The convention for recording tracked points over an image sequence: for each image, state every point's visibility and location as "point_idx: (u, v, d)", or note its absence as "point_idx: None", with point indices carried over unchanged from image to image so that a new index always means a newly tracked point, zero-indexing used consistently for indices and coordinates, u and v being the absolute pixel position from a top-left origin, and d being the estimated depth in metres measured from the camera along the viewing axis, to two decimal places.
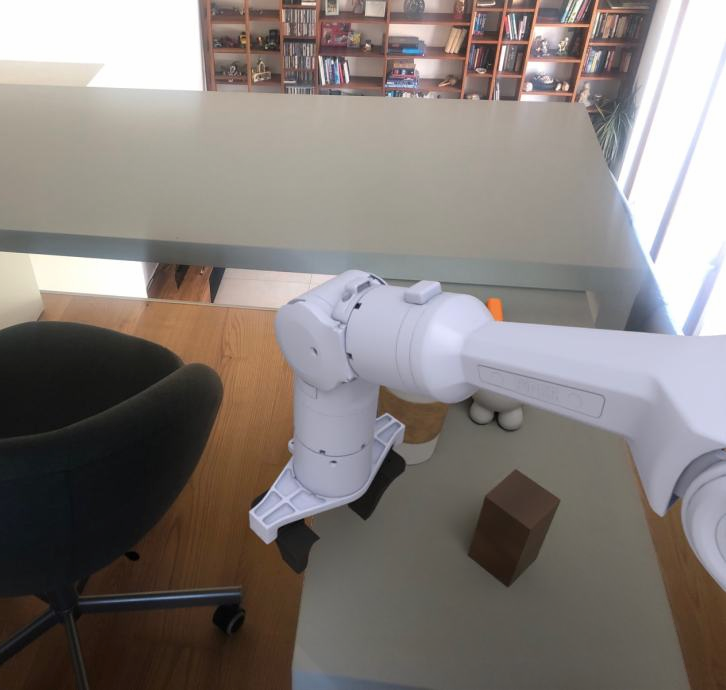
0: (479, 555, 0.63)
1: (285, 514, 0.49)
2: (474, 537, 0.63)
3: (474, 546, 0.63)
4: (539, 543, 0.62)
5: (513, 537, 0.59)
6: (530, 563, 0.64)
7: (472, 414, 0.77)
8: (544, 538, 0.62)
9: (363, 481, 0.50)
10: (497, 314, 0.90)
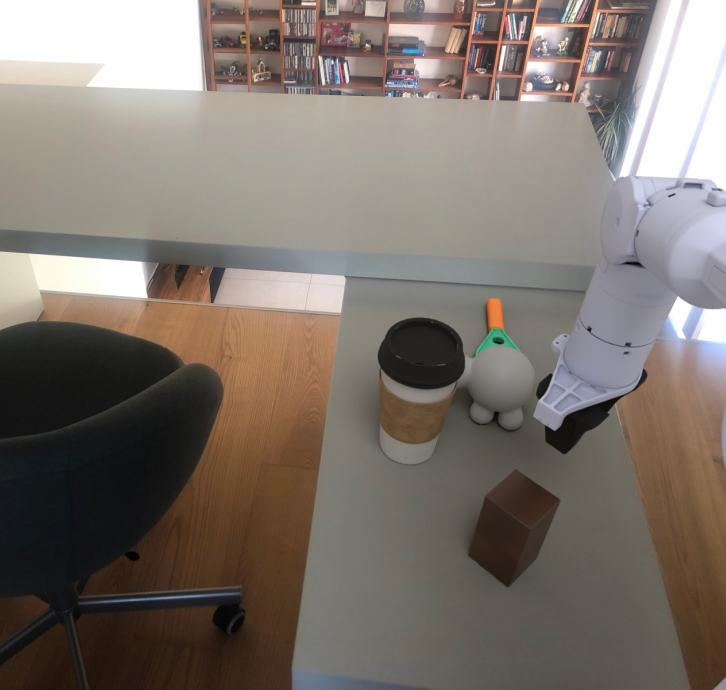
0: (479, 555, 0.63)
1: (570, 403, 0.53)
2: (474, 537, 0.63)
3: (474, 546, 0.63)
4: (539, 543, 0.62)
5: (513, 537, 0.59)
6: (530, 563, 0.64)
7: (472, 414, 0.77)
8: (544, 538, 0.62)
9: (638, 374, 0.54)
10: (497, 314, 0.90)
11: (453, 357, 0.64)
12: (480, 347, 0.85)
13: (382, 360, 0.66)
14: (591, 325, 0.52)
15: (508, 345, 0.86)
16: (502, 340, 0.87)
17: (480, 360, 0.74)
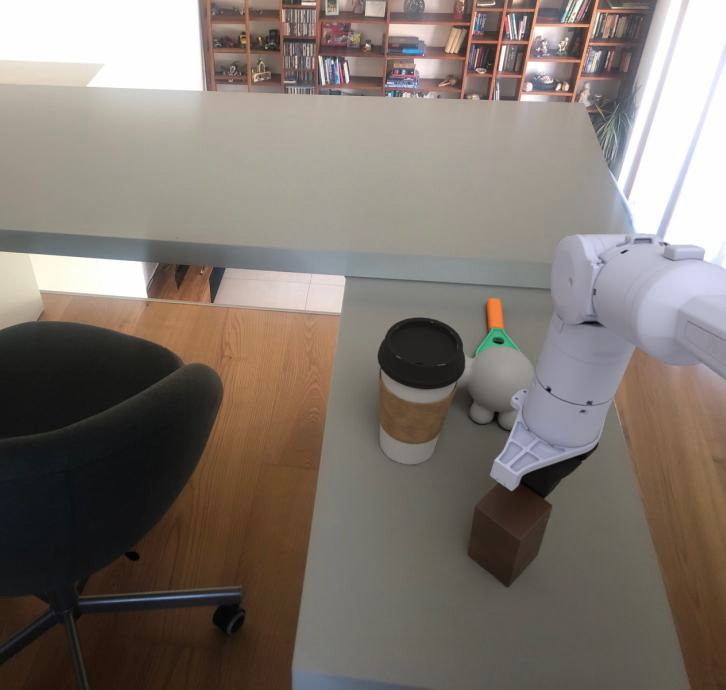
0: (478, 556, 0.63)
1: (527, 463, 0.52)
2: (471, 540, 0.63)
3: (472, 548, 0.63)
4: (537, 544, 0.61)
5: (506, 545, 0.58)
6: (531, 561, 0.63)
7: (472, 414, 0.77)
8: (542, 538, 0.61)
9: (598, 432, 0.53)
10: (497, 314, 0.90)
11: (453, 357, 0.64)
12: (480, 347, 0.85)
13: (382, 360, 0.66)
14: (550, 385, 0.50)
15: (508, 345, 0.86)
16: (502, 340, 0.87)
17: (480, 360, 0.74)
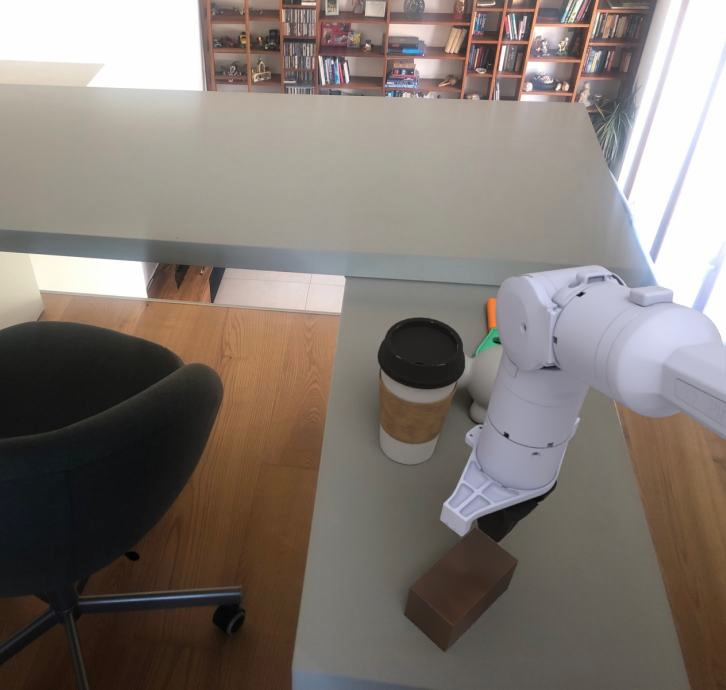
0: None
1: (479, 506, 0.49)
2: None
3: None
4: (492, 590, 0.58)
5: None
6: (512, 571, 0.60)
7: (472, 414, 0.77)
8: (494, 584, 0.58)
9: (554, 473, 0.50)
10: None
11: (453, 357, 0.64)
12: (480, 347, 0.85)
13: (382, 360, 0.66)
14: (508, 431, 0.47)
15: None
16: None
17: (480, 360, 0.74)
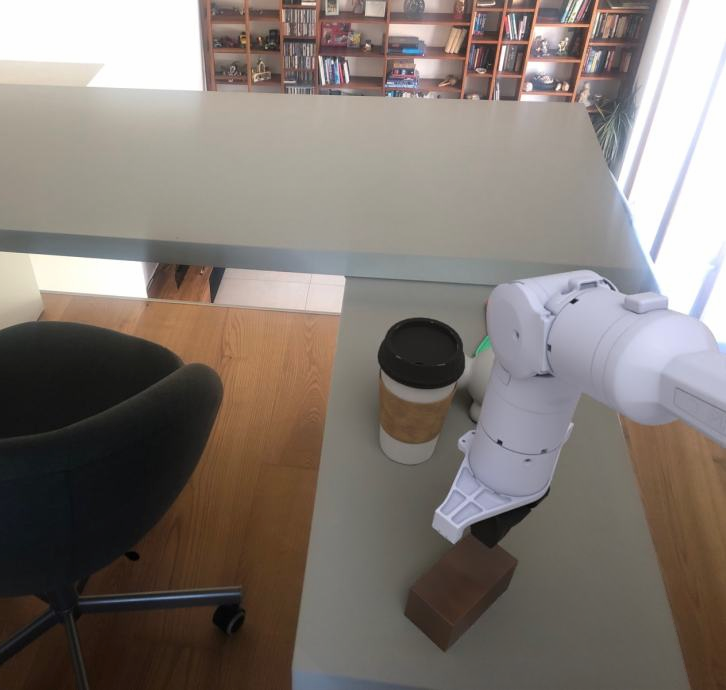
0: None
1: (471, 513, 0.48)
2: None
3: None
4: (492, 590, 0.58)
5: None
6: (512, 571, 0.60)
7: (472, 414, 0.77)
8: (494, 584, 0.58)
9: (547, 480, 0.49)
10: None
11: (453, 357, 0.64)
12: (480, 347, 0.85)
13: (382, 360, 0.66)
14: (501, 438, 0.46)
15: None
16: None
17: (480, 360, 0.74)
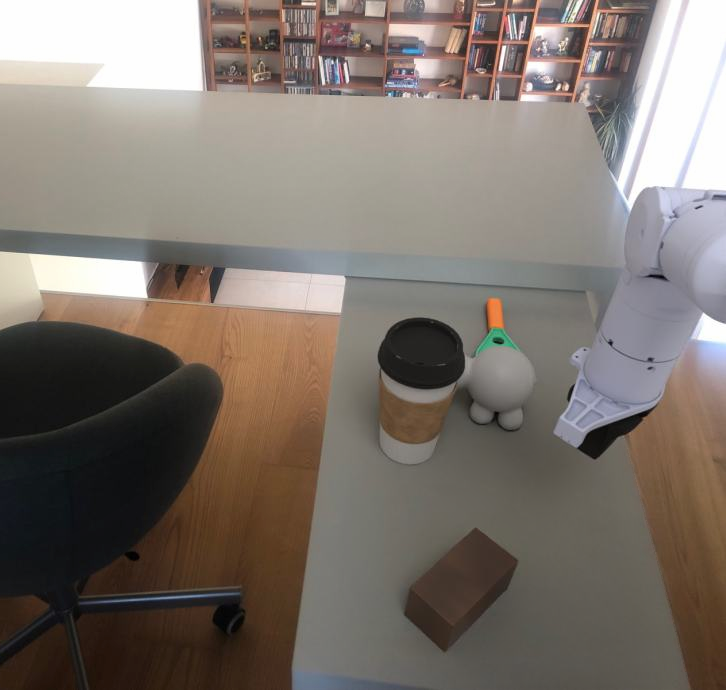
0: None
1: (592, 420, 0.52)
2: None
3: None
4: (492, 590, 0.58)
5: None
6: (512, 571, 0.60)
7: (472, 414, 0.77)
8: (494, 584, 0.58)
9: (662, 389, 0.53)
10: (497, 314, 0.90)
11: (453, 357, 0.64)
12: (480, 347, 0.85)
13: (382, 360, 0.66)
14: (612, 338, 0.50)
15: (508, 345, 0.86)
16: (502, 340, 0.87)
17: (480, 360, 0.74)
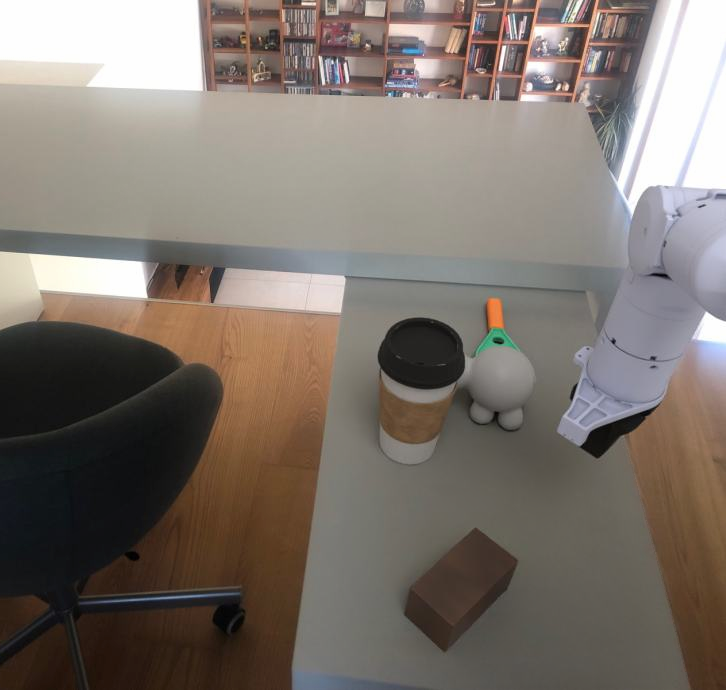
0: None
1: (595, 418, 0.52)
2: None
3: None
4: (492, 590, 0.58)
5: None
6: (512, 571, 0.60)
7: (472, 414, 0.77)
8: (494, 584, 0.58)
9: (664, 388, 0.53)
10: (497, 314, 0.90)
11: (453, 357, 0.64)
12: (480, 347, 0.85)
13: (382, 360, 0.66)
14: (615, 337, 0.50)
15: (508, 345, 0.86)
16: (502, 340, 0.87)
17: (480, 360, 0.74)
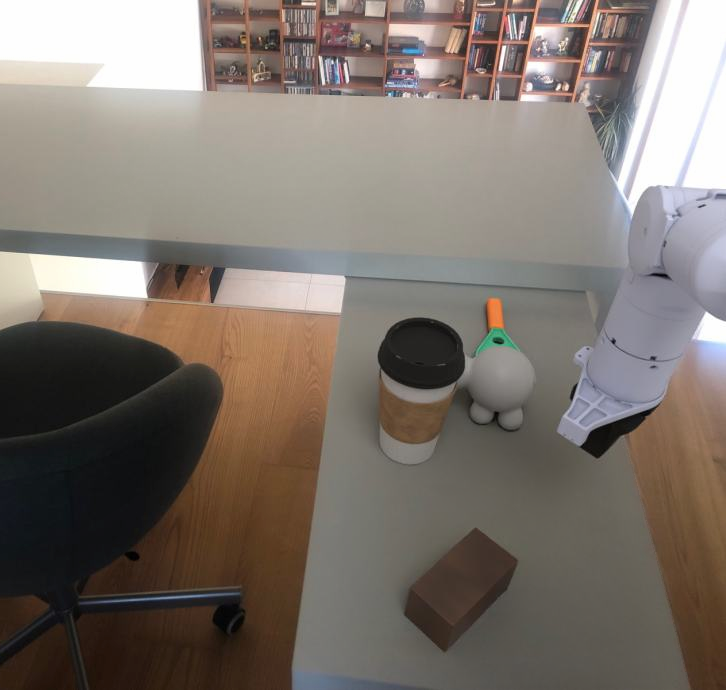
0: None
1: (595, 418, 0.52)
2: None
3: None
4: (492, 590, 0.58)
5: None
6: (512, 571, 0.60)
7: (472, 414, 0.77)
8: (494, 584, 0.58)
9: (664, 388, 0.53)
10: (497, 314, 0.90)
11: (453, 357, 0.64)
12: (480, 347, 0.85)
13: (382, 360, 0.66)
14: (615, 337, 0.50)
15: (508, 345, 0.86)
16: (502, 340, 0.87)
17: (480, 360, 0.74)
